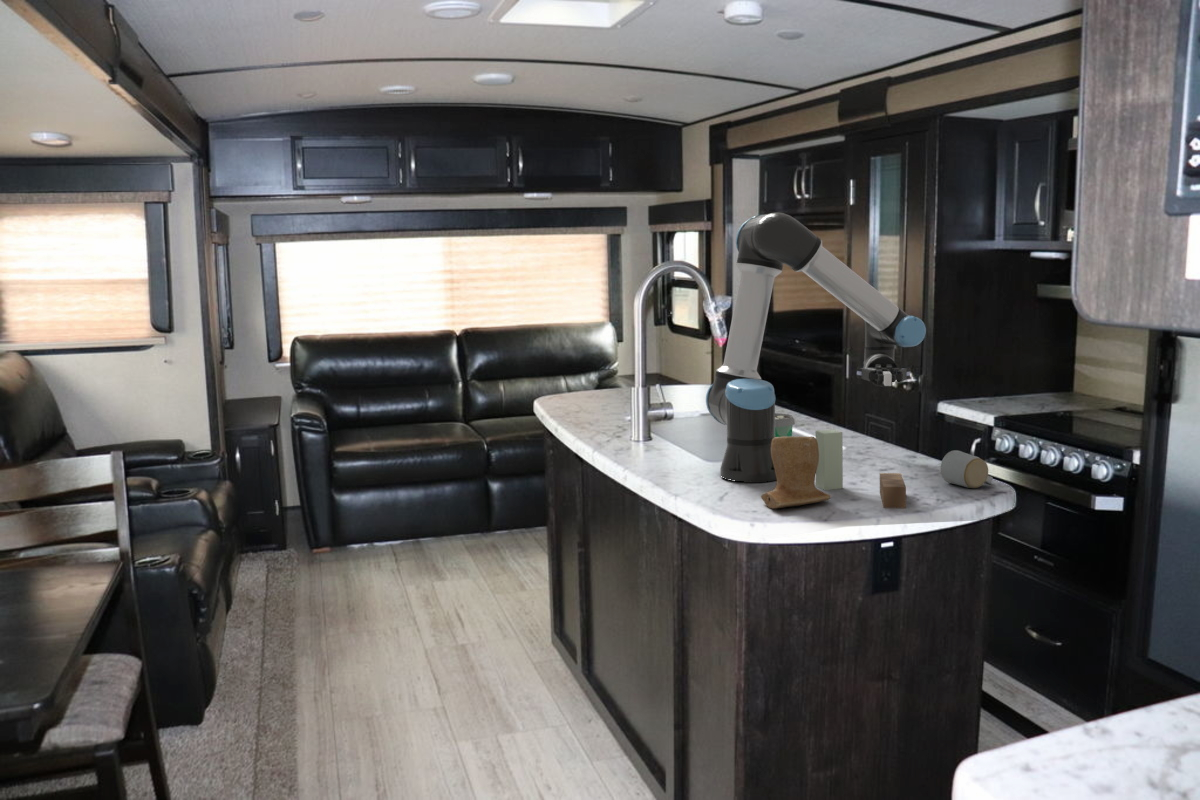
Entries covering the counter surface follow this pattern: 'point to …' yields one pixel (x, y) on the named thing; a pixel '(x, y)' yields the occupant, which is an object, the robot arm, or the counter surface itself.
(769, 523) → the counter surface
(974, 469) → the ceramic mug
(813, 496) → the cork flared stand
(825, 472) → the sage block
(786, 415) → the food container
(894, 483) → the walnut block
